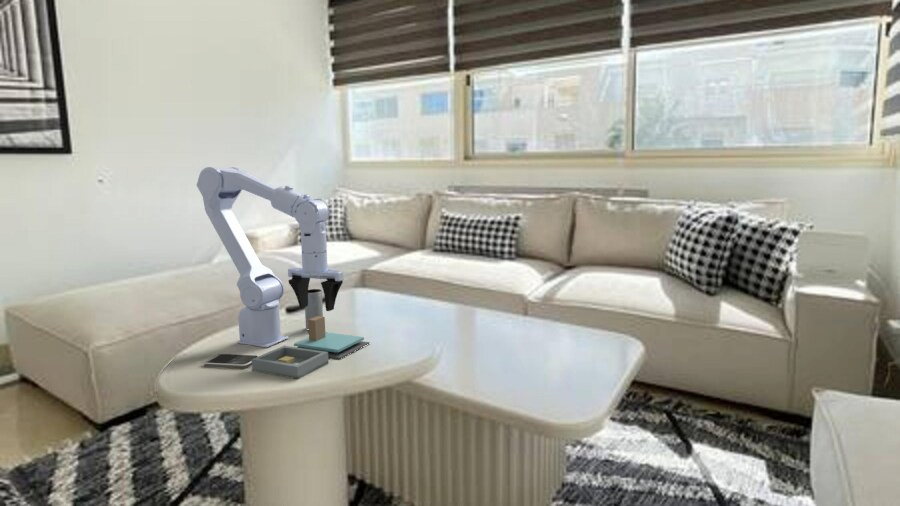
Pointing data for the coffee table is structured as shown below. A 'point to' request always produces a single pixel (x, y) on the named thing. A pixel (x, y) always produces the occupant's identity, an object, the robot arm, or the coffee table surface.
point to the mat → (345, 350)
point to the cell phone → (229, 361)
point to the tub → (290, 361)
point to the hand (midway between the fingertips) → (316, 308)
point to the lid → (326, 338)
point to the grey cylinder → (313, 305)
